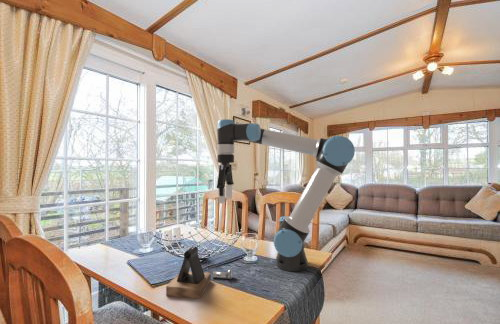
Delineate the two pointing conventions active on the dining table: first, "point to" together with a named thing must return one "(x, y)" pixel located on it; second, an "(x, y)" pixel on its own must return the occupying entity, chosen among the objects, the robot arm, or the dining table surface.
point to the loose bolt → (223, 274)
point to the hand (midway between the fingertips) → (225, 200)
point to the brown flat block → (188, 287)
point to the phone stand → (194, 262)
